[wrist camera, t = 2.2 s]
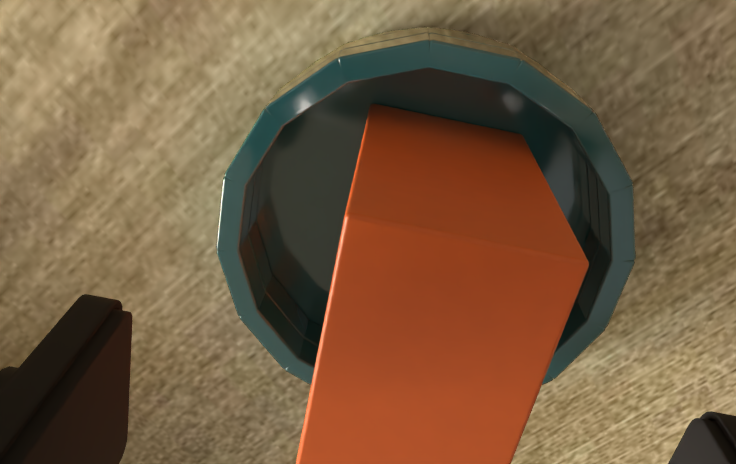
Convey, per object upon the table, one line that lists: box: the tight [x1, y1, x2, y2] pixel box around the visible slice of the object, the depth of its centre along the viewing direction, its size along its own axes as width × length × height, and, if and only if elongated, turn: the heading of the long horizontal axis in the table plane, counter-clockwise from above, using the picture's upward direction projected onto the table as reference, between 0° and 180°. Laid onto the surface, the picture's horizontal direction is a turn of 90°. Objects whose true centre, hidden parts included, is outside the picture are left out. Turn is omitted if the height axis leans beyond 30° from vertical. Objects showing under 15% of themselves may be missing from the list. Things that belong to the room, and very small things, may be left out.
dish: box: [216, 27, 636, 385], centre depth 17 cm, size 10×10×2 cm
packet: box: [296, 104, 589, 464], centre depth 15 cm, size 4×6×7 cm, turn 169°
